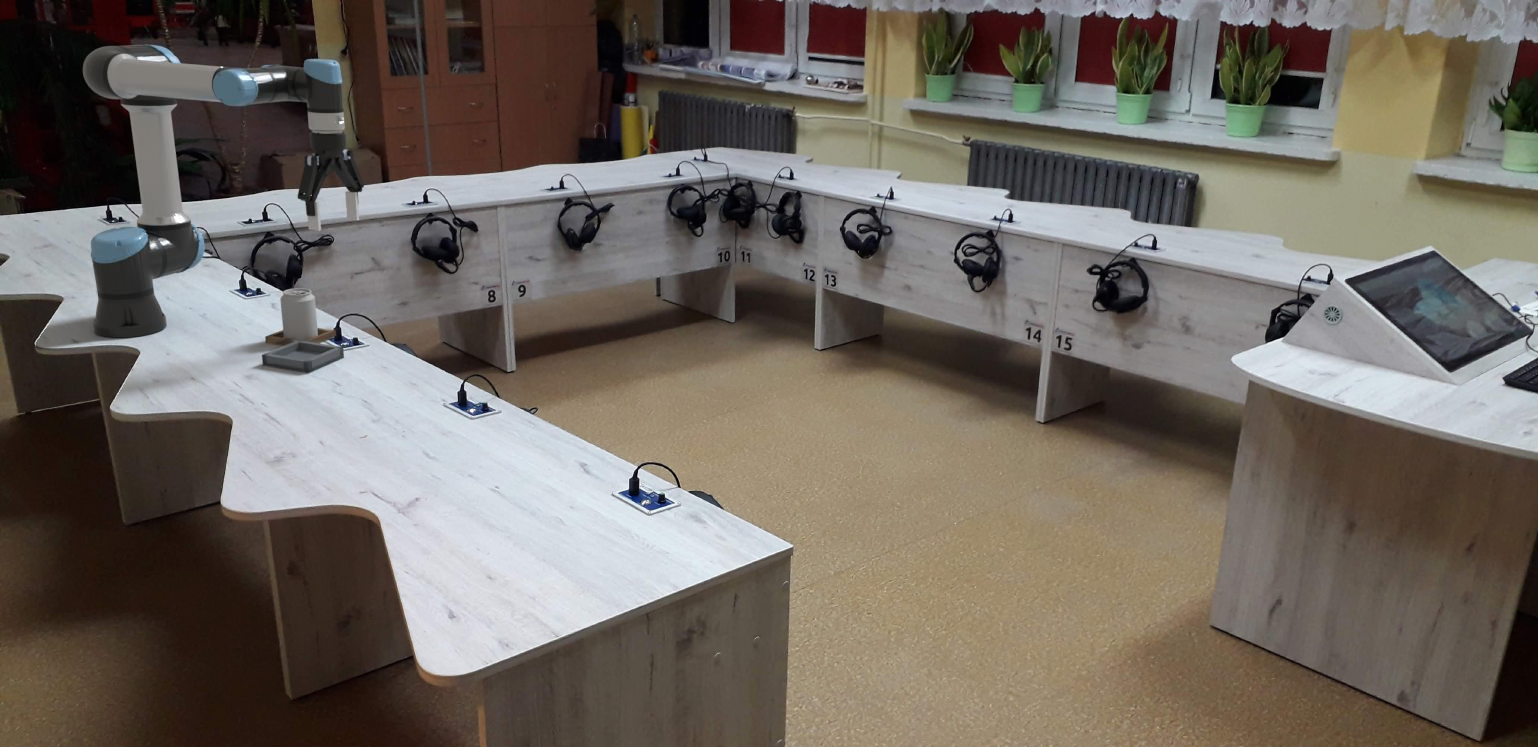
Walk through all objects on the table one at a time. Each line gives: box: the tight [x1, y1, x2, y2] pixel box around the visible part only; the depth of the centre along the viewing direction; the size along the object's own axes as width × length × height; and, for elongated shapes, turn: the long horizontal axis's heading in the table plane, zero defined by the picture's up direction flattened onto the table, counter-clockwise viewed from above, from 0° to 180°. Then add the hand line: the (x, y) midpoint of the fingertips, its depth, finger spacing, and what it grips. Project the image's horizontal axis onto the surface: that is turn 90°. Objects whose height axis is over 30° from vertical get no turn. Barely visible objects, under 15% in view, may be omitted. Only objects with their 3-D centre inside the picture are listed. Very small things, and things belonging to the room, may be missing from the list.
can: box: [279, 287, 318, 341], centre depth 263 cm, size 8×8×12 cm
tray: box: [261, 340, 345, 374], centre depth 249 cm, size 12×12×2 cm
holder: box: [264, 327, 337, 347], centre depth 264 cm, size 11×11×2 cm
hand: (334, 225), depth 256 cm, fingers open, 13 cm apart
